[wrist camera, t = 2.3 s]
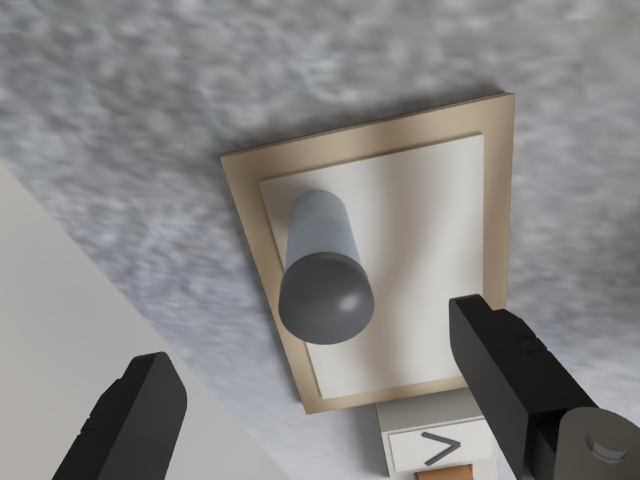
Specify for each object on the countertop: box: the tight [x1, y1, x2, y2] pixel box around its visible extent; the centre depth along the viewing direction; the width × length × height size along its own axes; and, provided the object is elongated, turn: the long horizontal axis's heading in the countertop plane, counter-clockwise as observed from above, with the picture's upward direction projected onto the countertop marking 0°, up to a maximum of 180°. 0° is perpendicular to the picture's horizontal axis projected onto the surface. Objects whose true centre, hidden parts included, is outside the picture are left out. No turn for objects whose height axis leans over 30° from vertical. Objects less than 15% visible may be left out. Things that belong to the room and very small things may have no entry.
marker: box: [278, 190, 375, 345], centre depth 15 cm, size 3×3×8 cm
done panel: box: [375, 387, 498, 480], centre depth 28 cm, size 8×10×3 cm
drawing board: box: [220, 92, 515, 415], centre depth 21 cm, size 14×19×1 cm
